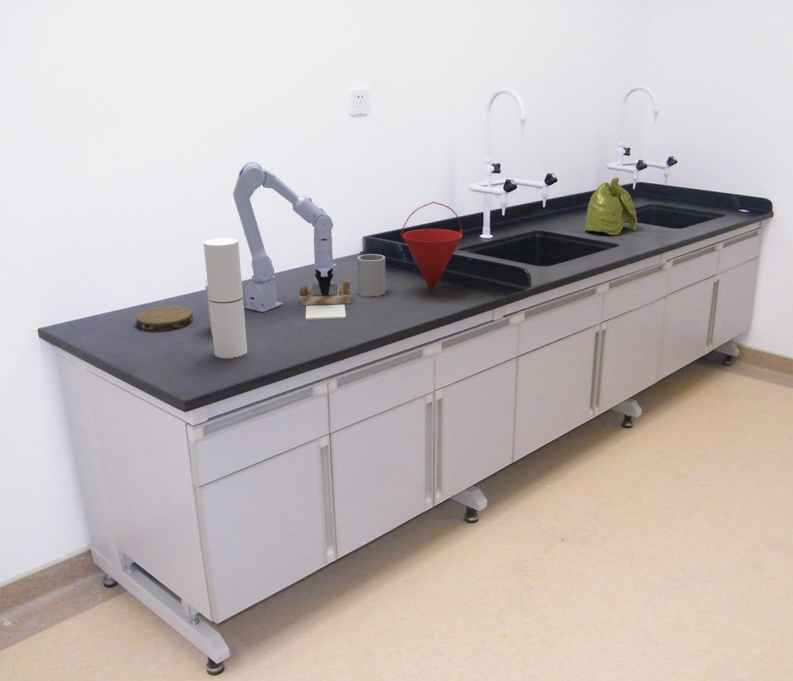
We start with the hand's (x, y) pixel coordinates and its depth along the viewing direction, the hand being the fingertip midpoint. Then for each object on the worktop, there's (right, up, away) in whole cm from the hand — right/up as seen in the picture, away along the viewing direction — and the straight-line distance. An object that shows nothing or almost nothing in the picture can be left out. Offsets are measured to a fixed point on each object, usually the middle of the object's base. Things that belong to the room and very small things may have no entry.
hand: (325, 292), depth 242 cm
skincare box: (-28, -13, -24) cm, 39 cm away
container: (-21, -19, -41) cm, 50 cm away
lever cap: (0, 0, 0) cm, 0 cm away
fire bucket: (+35, +1, +11) cm, 36 cm away
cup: (+15, 0, +10) cm, 18 cm away
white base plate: (+1, -7, -10) cm, 12 cm away
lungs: (+118, +33, +96) cm, 156 cm away
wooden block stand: (0, -3, +1) cm, 3 cm away
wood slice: (-46, -11, -18) cm, 50 cm away
